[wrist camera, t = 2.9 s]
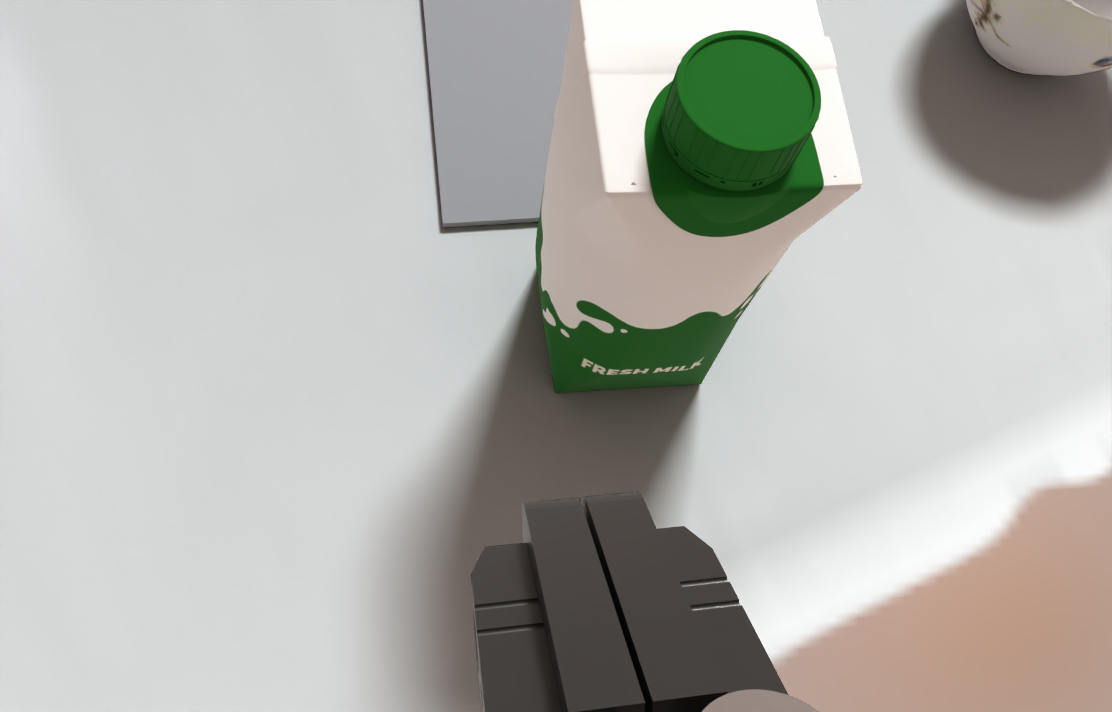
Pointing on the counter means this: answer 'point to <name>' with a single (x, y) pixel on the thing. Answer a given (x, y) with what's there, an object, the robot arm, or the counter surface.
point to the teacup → (1045, 34)
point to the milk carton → (680, 179)
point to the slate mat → (494, 103)
